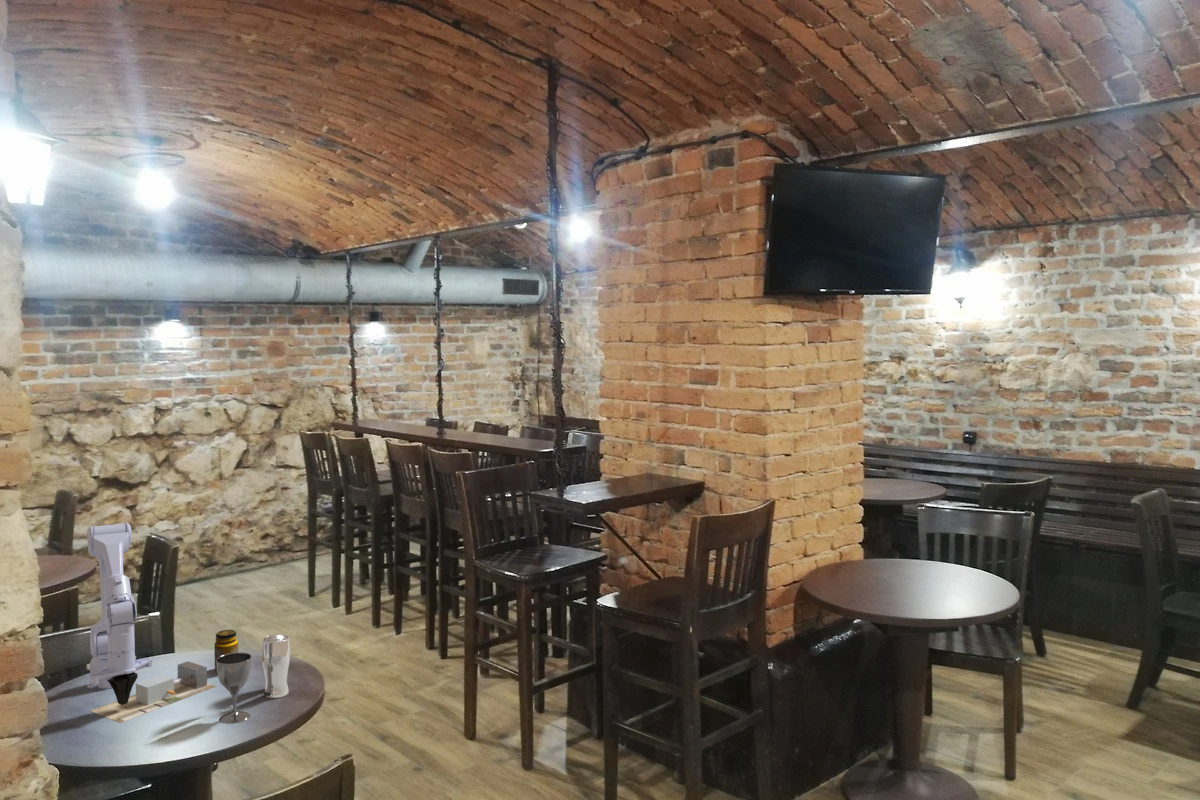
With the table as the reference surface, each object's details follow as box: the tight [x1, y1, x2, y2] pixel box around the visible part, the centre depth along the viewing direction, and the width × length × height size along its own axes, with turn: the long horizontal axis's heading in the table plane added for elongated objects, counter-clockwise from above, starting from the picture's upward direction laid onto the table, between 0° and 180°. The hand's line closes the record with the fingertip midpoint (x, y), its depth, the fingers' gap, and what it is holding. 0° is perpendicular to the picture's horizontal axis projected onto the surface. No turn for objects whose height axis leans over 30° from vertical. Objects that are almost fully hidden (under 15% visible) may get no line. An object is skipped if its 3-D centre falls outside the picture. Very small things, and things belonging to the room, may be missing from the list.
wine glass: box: [216, 651, 252, 724], centre depth 214 cm, size 8×8×15 cm
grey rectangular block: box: [177, 661, 208, 689], centre depth 231 cm, size 8×3×5 cm, turn 60°
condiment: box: [214, 629, 239, 674], centre depth 241 cm, size 7×8×12 cm
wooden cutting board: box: [89, 682, 217, 724], centre depth 222 cm, size 13×26×1 cm, turn 150°
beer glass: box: [261, 633, 291, 699], centre depth 229 cm, size 7×7×15 cm
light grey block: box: [135, 674, 183, 705], centre depth 223 cm, size 7×11×4 cm
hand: (122, 703), depth 215 cm, fingers closed
